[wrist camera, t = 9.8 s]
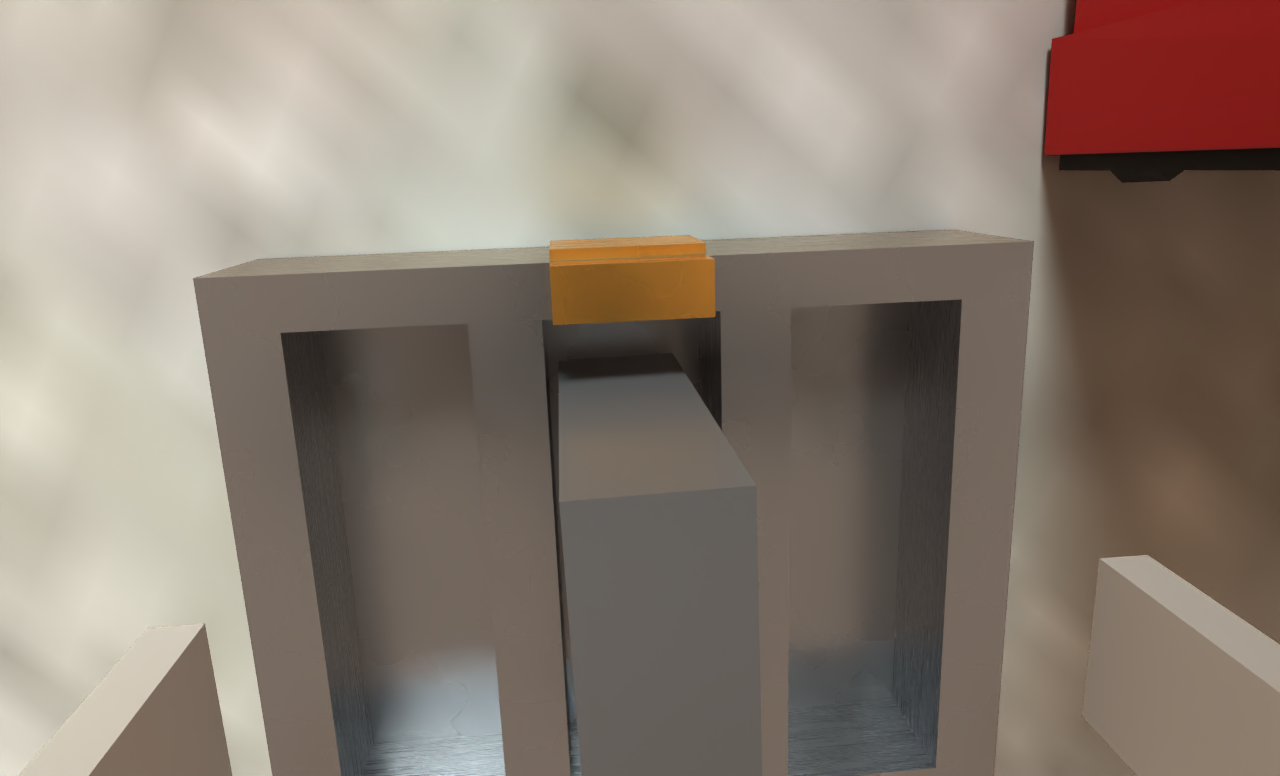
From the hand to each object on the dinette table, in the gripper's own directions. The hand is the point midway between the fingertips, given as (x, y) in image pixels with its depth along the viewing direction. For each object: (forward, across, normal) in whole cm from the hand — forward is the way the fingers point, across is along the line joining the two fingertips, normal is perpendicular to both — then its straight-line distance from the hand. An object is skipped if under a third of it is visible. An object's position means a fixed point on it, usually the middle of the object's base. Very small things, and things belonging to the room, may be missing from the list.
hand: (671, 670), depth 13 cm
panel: (+6, 0, -1) cm, 7 cm away
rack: (+7, 0, 0) cm, 7 cm away
